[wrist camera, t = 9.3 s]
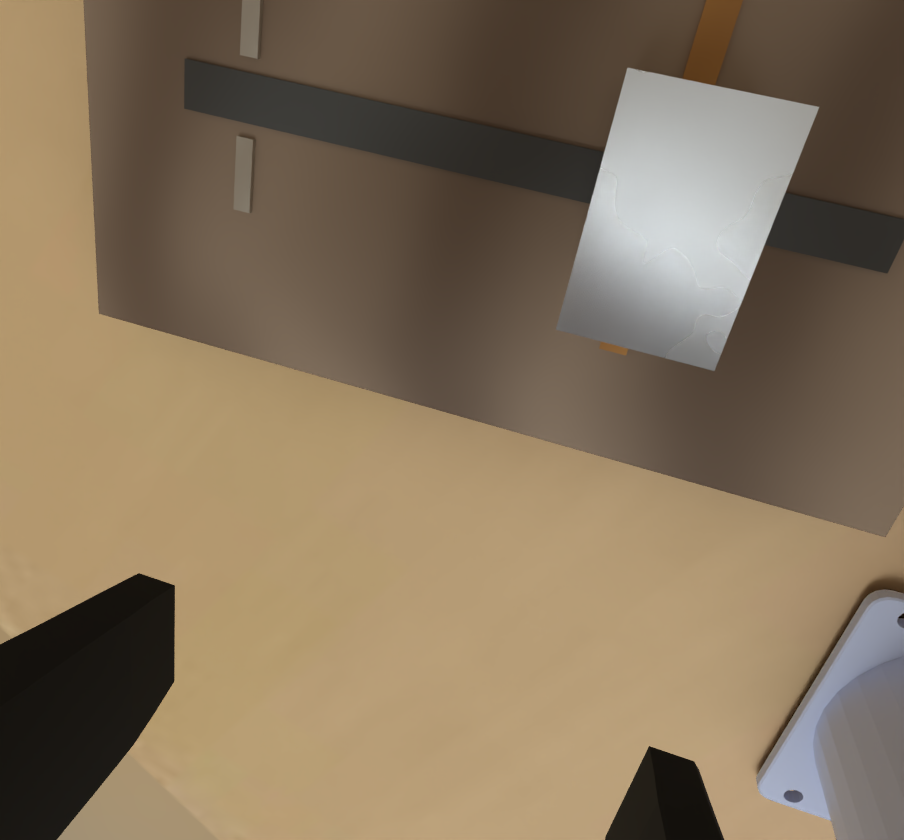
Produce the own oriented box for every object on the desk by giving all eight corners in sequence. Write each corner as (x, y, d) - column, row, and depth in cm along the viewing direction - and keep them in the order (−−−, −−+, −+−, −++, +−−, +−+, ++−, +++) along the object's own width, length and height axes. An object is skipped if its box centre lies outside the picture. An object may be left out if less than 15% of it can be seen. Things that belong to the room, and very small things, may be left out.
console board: (1200, -93, 11) (1283, -123, 10) (865, 503, 17) (887, 540, 15) (122, -262, 14) (64, -304, 12) (135, 299, 19) (95, 314, 18)
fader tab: (761, 107, 12) (819, 106, 8) (692, 298, 14) (714, 371, 10) (629, 80, 13) (627, 67, 9) (577, 269, 14) (555, 329, 10)
